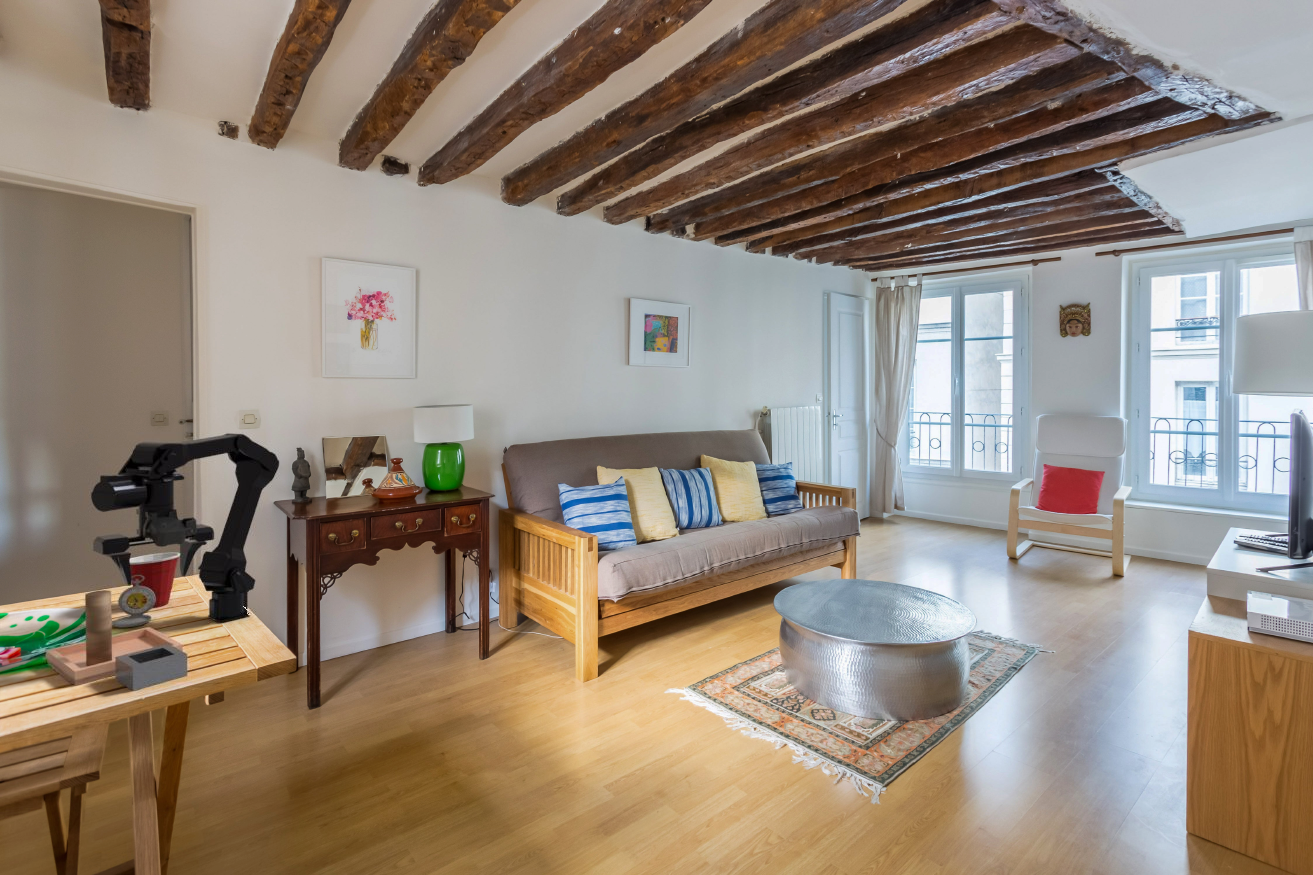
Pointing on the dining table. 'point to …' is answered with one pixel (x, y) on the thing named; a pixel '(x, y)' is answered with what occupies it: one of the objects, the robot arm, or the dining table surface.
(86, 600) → the dowel
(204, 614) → the dining table surface
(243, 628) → the dining table surface
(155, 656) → the socket
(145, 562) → the plastic cup
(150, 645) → the tray
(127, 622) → the pocket watch
